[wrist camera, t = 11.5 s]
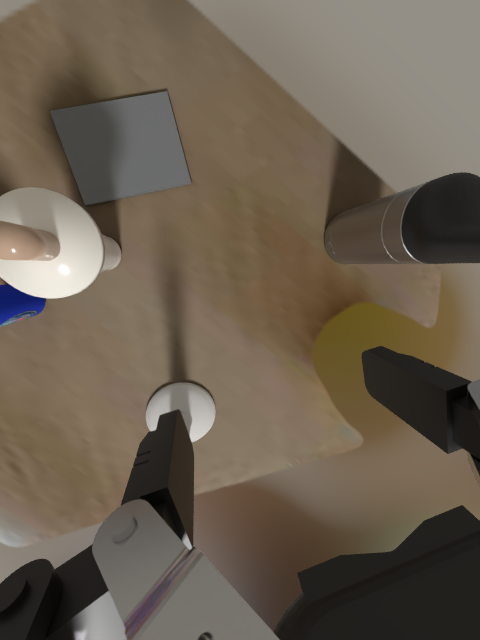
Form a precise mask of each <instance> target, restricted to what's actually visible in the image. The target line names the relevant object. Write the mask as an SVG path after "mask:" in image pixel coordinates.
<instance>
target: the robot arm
mask: <svg viewBox="0 0 480 640" xmlns="http://www.w3.org/2000/svg"><path fill="white" fill-rule="evenodd" d="M324 243H325V248H326V251H327V253H328V254H329V256H330V257H331V258H332V259H333V260H334V261H336V262H338V263H342V264H445V263H480V177H478V176H477V175H474V174H471V173H453V174H449V175H446V176H443V177H440V178H438V179H434V180H432V181H430V182H426V183H424V184H421V185H418V186H415V187H412V188H410V189H407V190H404V191H401V192H398V193H395V194H393V195H390V196H387V197H384V198H381V199H378V200H375V201H373V202H370V203H367V204H364V205H361V206H358V207H355V208H352V209H350V210H347V211H344V212H341V213H339V214H337V215H336V216H335V217H334V218H333V219H332V220H331V221H330V222H329V224H328V226H327V228H326V231H325V237H324ZM362 363H363V372H364V380H365V386H366V388H367V390H368V392H369V394H370V395H371V396H372V397H373V398H374V399H376V400H377V401H378V402H380V403H381V404H382V405H383V406H385V407H386V408H388V409H389V410H390V411H391V412H393V413H394V414H395V415H397V416H398V417H399V418H401V419H402V420H403V421H405V422H406V423H407V424H409V425H410V426H411V427H413V428H414V429H415V430H417V431H418V432H419V433H421V434H422V435H423V436H425V437H426V438H427V439H429V440H430V441H431V442H433V443H434V444H435V445H437V446H438V447H439V448H441V449H442V450H443V451H444V452H446V453H447V454H449V453H451V452H454V451H457V450H459V449H462V448H463V449H465V450H466V451H467V456H468V457H467V459H468V463H469V465H470V468H471V470H472V472H473V475H474V477H475V480H476V482H477V485H478V487H479V490H480V380H476V381H473V382H471V381H469V380H467V379H464V378H462V377H459V376H457V375H455V374H453V373H450V372H448V371H446V370H443V369H441V368H438V367H434V365H432V364H429V363H427V362H426V363H424V361H422V360H420V359H417V358H415V357H413V356H409V355H404V354H399V353H396V352H394V351H392V350H390V349H387V348H385V347H383V346H379V347H376V348H372V349H369V350H366V351H364V352H363V353H362ZM136 456H137V457H136V458H135V461H134V464H133V466H134V467H133V468H132V471H131V474H130V477H129V481H128V484H127V487H126V490H125V493H124V497H123V500H122V503H121V506H120V507H119V508H117V509H116V510H115V511H113V512H112V513H111V514H110V515H109V516H108V517H107V518H106V520H105V521H104V522H103V523H102V525H101V526H100V528H99V529H98V531H97V533H96V535H95V538H94V541H93V544H92V545H91V546H89V547H88V548H87V549H85V550H84V551H82V552H81V553H79V554H78V555H76V556H74V557H73V558H71V559H70V560H68V561H67V562H66V563H64V564H62V565H61V566H59V567H58V568H56V569H54V567H53V566H52V564H51V563H50V562H49V561H48V560H46V559H37V560H34V561H31V562H29V563H27V564H25V565H24V566H22V567H20V568H19V569H17V570H16V571H15V572H14V573H12V574H11V575H10V576H8V577H7V578H6V579H5V580H4V581H3V582H2V583H1V584H0V640H480V520H478V519H477V518H476V517H475V516H474V515H472V514H471V513H470V512H469V511H468V510H467V509H466V508H465V507H464V506H462V505H461V506H459V507H456V508H454V509H452V510H449V511H447V512H444V513H442V514H439V515H437V516H434V517H432V518H430V519H427V520H425V521H423V523H422V524H420V526H418V527H417V528H416V529H415V530H414V531H413V532H412V533H411V534H410V535H409V536H408V537H407V538H406V539H405V540H404V541H403V542H402V543H401V544H400V545H399V546H398V547H397V548H396V549H395V550H393V551H391V552H383V553H368V554H354V555H340V556H338V557H335V558H333V559H330V560H328V561H326V562H323V563H321V564H318V565H316V566H313V567H311V568H309V569H306V570H304V571H301V572H299V573H297V574H298V578H299V582H300V585H301V589H302V592H301V593H300V594H299V595H298V596H297V597H296V598H295V599H294V600H293V602H292V603H291V604H290V605H289V606H288V608H287V609H286V610H285V612H284V613H283V615H282V617H281V619H280V620H279V622H278V624H277V626H276V628H275V630H274V632H272V630H271V629H270V628H269V627H268V626H267V625H266V624H265V623H264V622H263V621H262V619H261V618H260V617H259V616H258V615H257V614H256V613H255V612H254V611H253V609H252V608H251V607H250V606H249V605H248V604H247V603H246V602H245V601H244V600H243V598H242V597H241V596H240V595H239V594H238V593H237V592H236V591H235V589H234V588H233V587H232V586H231V585H230V584H229V583H228V582H227V581H226V580H225V578H224V577H223V576H222V575H221V574H220V573H219V572H218V571H217V569H216V568H215V567H214V566H213V565H212V564H211V563H210V562H209V561H208V560H207V558H206V557H205V556H204V555H203V554H202V553H201V552H200V551H199V550H198V549H197V548H195V547H193V515H194V514H193V513H194V509H193V508H194V503H193V502H194V452H193V446H192V442H191V439H190V436H189V433H188V431H187V428H186V425H185V422H184V419H183V416H182V414H181V411H180V410H179V409H177V410H174V411H171V412H168V413H164V414H161V415H160V416H159V419H158V423H157V427H156V430H154V431H151V432H148V434H147V435H146V436H145V438H144V439H143V440H142V442H141V443H140V445H139V448H138V452H137V455H136Z"/></svg>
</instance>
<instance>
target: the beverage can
mask: <svg viewBox="0 0 480 640" xmlns="http://www.w3.org/2000/svg"><path fill="white" fill-rule="evenodd" d="M44 306H45V298H41V297H36V296H32V295H29V294H26V293H24V292H21V291H20V290H18V289H16V288H14V287H13V286H11V285H10V284H7V285H0V327H1V326H4V325H7V324H10V323H13V322H16V321H19V320H22V319H26V318H29V317H32V316H35V315H37V314H39V313H40V312H41V311H42V310H43V309H44Z"/></svg>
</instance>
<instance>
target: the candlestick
mask: <svg viewBox="0 0 480 640" xmlns="http://www.w3.org/2000/svg"><path fill="white" fill-rule="evenodd" d="M177 409H179V410H180V411H181V414H182V416H183V419H184V422H185V425H186V428H187V431H188V433H189V436H190V439H191V442H194V441H196V440H198V439H200V438H201V437H203V436H204V435H205V434H206V433H207V432H208V431H209V430H210V428H211V427H212V425H213V422H214V419H215V404H214V401H213V399H212V397H211V396H210V394H209V393H208V392H207V391H206V390H205V389H203V388H202V387H200V386H198V385H196V384H192V383H187V382H180V383H173V384H170V385H167V386H165V387H163V388H162V389H160V390H159V391H158V392H157V393H155V395H154V396H153V397H152V398H151V400H150V402H149V404H148V406H147V410H146V422H147V426H148V428H149V430H150V431H154V430H156V427H157V423H158V419H159V416H160V415H161V414H164V413H168V412H171V411H174V410H177Z"/></svg>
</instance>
